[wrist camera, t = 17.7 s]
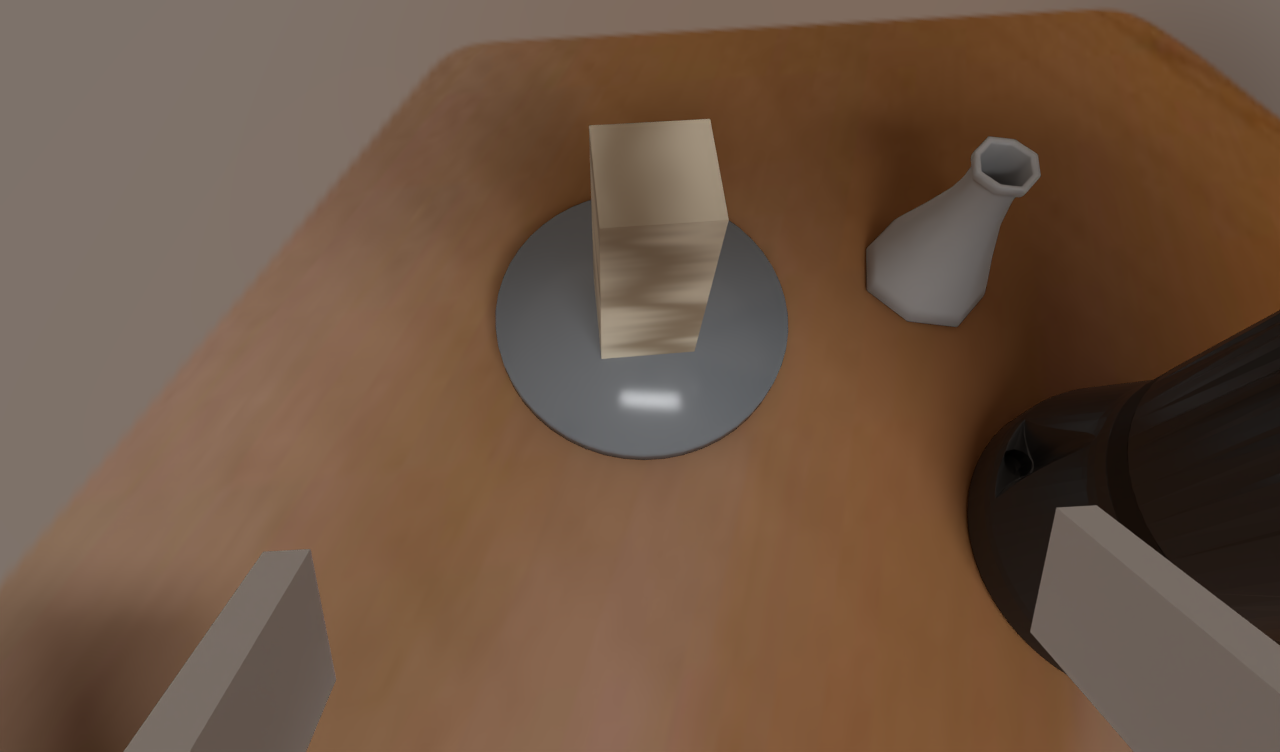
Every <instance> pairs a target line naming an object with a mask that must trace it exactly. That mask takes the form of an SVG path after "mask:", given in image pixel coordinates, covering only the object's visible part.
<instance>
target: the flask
mask: <svg viewBox="0 0 1280 752" xmlns="http://www.w3.org/2000/svg"><path fill="white" fill-rule="evenodd" d="M1040 176H1041V174H1040V167H1039V159H1038V154H1037V153H1035V152H1034V151H1032V150H1031V149H1029V148H1027V147H1026V146H1024V145H1023V144H1021V143H1020V142H1018V141H1017V140H1015V139H1008V138H1000V137H991V136H988V137H987V138H986V139H985V141H984V142H983V143H982V144H981V145H980V146H979V147H978V148H977V149H976V150H975V151H974V152H973V153H972V155H971V167H970V169H969V170H968V171H967V173H966V174H965V176H964V177H963V178H962V179H961V180H959V181H958V182H957V183H956V184H955V185H954V186H953V187H951V188H950V189H948V190H946V191H945V192H943V193H941V194H940V195H938V196H936V197H935V198H933V199H931V200H930V201H928V202H926V203H925V204H923V205H921V206H919V207H917V208H915V209H913V210H911V211H909V212H908V213H906V214H904V215H902V216H900V217H898V218H897V219H895V220H894V221H893V222H892V223H891V224H890V225H889V226H888V227H887V228H886V229H885V230H884V231H883V232H882V233H881V234H880V235H879V236H878V237H877V238H876V239H875V240H874V241H873V242H872V243H871V244H870V245H869V246H868V247H867V249H866V268H867V291H868V292H869V293H871V294H872V295H873V296H875V297H876V298H877V299H879V300H880V301H881V302H883V303H884V304H885V305H887V306H888V307H889V308H891V309H892V310H893V311H894V312H896V313H897V314H898V315H900V316H901V317H902V318H904V319H905V320H906V321H910V322H918V323H927V324H935V325H944V326H953V327H958V325H959V324H960V323H961V322H962V321H963V320H964V318H965V317H966V316H967V315H968V314H969V313H970V311H971V310H972V309H973V308H974V307H975V306H976V304H977V303H978V302H979V301H980V300H981V299H982V297H983V296H984V294H985V290H986V286H987V281H988V276H989V271H990V266H991V260H992V256H993V252H994V248H995V244H996V240H997V237H998V233H999V229H1000V225H1001V223H1002V221H1003V219H1004V217H1005V215H1006V213H1007V211H1008V209H1009V207H1010V205H1011V203H1012V201H1013V200H1014V198H1015V197H1022V196H1023V195H1025V194H1026V193H1027V191H1028V190H1029V189H1030V188H1031V187H1032V186H1033V185H1034V183H1035V182H1036V181H1037V180H1038V179H1039V178H1040Z"/></svg>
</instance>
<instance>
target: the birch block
mask: <svg viewBox="0 0 1280 752" xmlns="http://www.w3.org/2000/svg"><path fill="white" fill-rule="evenodd" d="M589 141H590V174H591V206H592V239H593V272H594V286H595V297H596V307H597V318H598V328H599V338H600V349H601V359H607V358H620V357H632V356H645V355H657V354H669V353H682V352H694V351H695V347H696V343H697V340H698V336H699V332H700V328H701V324H702V320H703V317H704V313H705V309H706V305H707V301H708V297H709V294H710V290H711V286H712V282H713V278H714V274H715V271H716V267H717V263H718V259H719V255H720V252H721V248H722V244H723V240H724V236H725V232H726V229H727V225H728V221H729V219H728V213H727V208H726V202H725V197H724V192H723V186H722V181H721V175H720V170H719V165H718V159H717V154H716V148H715V143H714V137H713V132H712V127H711V121H710V119H700V120H681V121H663V122H645V123H626V124H608V125H590V126H589Z"/></svg>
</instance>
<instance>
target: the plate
mask: <svg viewBox="0 0 1280 752" xmlns="http://www.w3.org/2000/svg"><path fill="white" fill-rule="evenodd" d="M496 333H497V340H498V346H499V350H500V353H501V356H502V359H503V363H504V366H505V369H506V372H507V374H508V376H509V378H510V381H511V383H512V385H513V387H514V389H515V390H516V392H517V393H518V395H519V396H520V398H521V399H522V401H523V402H524V404H525V405H526V406H527V407H528V408H529V409H530V410H531V412H532V413H533V414H534V415H535V416H536V417H537V418H538V419H539V420H540V421H542V422H543V423H544V424H545V425H546V426H547V427H549V428H550V429H551V430H552V431H554V432H555V433H557V434H559V435H560V436H562V437H563V438H565V439H566V440H568V441H570V442H572V443H574V444H576V445H578V446H581V447H583V448H585V449H588V450H591V451H594V452H597V453H600V454H603V455H607V456H612V457H618V458H623V459H636V460H652V459H665V458H670V457H676V456H681V455H685V454H688V453H691V452H694V451H697V450H700V449H703V448H705V447H707V446H709V445H711V444H713V443H715V442H717V441H719V440H721V439H722V438H724V437H725V436H727V435H728V434H730V433H731V432H733V431H734V430H736V429H737V428H738V427H739V426H740V425H741V424H742V423H744V422H745V421H746V420H747V419H748V418H749V417H750V416H751V415H752V414H753V412H754V411H755V410H756V409H757V408H758V406H759V405H760V404H761V402H762V401H763V399H764V398H765V396H766V395H767V393H768V391H769V390H770V388H771V386H772V384H773V383H774V381H775V378H776V376H777V374H778V372H779V369H780V367H781V365H782V361H783V357H784V354H785V350H786V344H787V336H788V314H787V308H786V302H785V297H784V294H783V291H782V288H781V285H780V282H779V280H778V278H777V276H776V273H775V271H774V269H773V267H772V265H771V264H770V262H769V261H768V259H767V258H766V256H765V255H764V253H763V252H762V251H761V250H760V248H759V247H758V246H757V245H756V244H755V243H754V241H753V240H752V239H751V238H750V237H749V236H748V235H746V234H745V233H744V232H743V231H742V230H741V229H740V228H739V227H737V226H736V225H735V224H733V223H732V222H730V221H728V225H727V229H726V232H725V236H724V240H723V244H722V248H721V252H720V255H719V259H718V263H717V267H716V271H715V274H714V278H713V282H712V286H711V290H710V294H709V297H708V301H707V305H706V309H705V313H704V317H703V320H702V324H701V328H700V332H699V336H698V340H697V343H696V347H695V351H694V352H682V353H669V354H657V355H645V356H632V357H620V358H607V359H601V349H600V338H599V328H598V318H597V307H596V297H595V286H594V272H593V239H592V206H591V200H589V201H586V202H584V203H581V204H579V205H576V206H573V207H571V208H569V209H568V210H566V211H564V212H562V213H560V214H558V215H556V216H555V217H554V218H552V219H551V220H549V221H548V222H546V223H545V224H543V225H542V226H541V227H540V228H539V229H538V230H537V231H536V232H535V233H533V234H532V235H531V236H530V237H529V238H528V240H527V241H526V242H525V243H524V244H523V245H522V247H521V248H520V249H519V250H518V252H517V254H516V255H515V257H514V258H513V260H512V261H511V263H510V265H509V267H508V269H507V271H506V273H505V275H504V278H503V281H502V284H501V287H500V290H499V294H498V300H497V306H496Z"/></svg>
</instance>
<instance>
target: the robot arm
mask: <svg viewBox="0 0 1280 752" xmlns="http://www.w3.org/2000/svg"><path fill="white" fill-rule="evenodd" d="M968 526H969V535H970V540H971V545H972V549H973V553H974V557H975V560H976V563H977V566H978V569H979V571H980V574H981V576H982V579H983V581H984V583H985V585H986V587H987V589H988V591H989V593H990V595H991V597H992V598H993V600H994V602H995V603H996V605H997V606H998V608H999V610H1000V611H1001V613H1002V614H1003V615H1004V617H1005V618H1006V619H1007V621H1008V622H1009V624H1010V625H1011V626H1012V627H1013V628H1014V629H1015V631H1016V632H1017V633H1018V634H1019V635H1020V636H1021V637H1022V638H1023V639H1024V641H1025V642H1026V643H1027V644H1028V645H1029V646H1031V647H1032V648H1033V649H1034V650H1035V651H1036V652H1037V653H1038V654H1039V655H1041V656H1042V657H1043V658H1044V659H1045V660H1047V661H1048V662H1049V663H1051V664H1052V665H1053V666H1055V667H1056V668H1058V669H1059V670H1061V671H1062V672H1064V673H1065V674H1067V675H1068V676H1069V677H1070V679H1071V680H1072V681H1073V682H1074V683H1075V684H1076V685H1077V687H1078V688H1079V689H1080V690H1081V691H1082V692H1083V694H1084V695H1085V696H1086V697H1087V698H1088V699H1089V700H1090V702H1091V703H1092V704H1093V705H1094V706H1095V707H1096V709H1097V710H1098V711H1099V712H1100V713H1101V714H1102V715H1103V717H1104V718H1105V719H1106V720H1107V721H1108V722H1109V724H1110V725H1111V726H1112V727H1113V728H1114V729H1115V730H1116V732H1117V733H1118V734H1119V735H1120V736H1121V737H1122V739H1123V740H1124V741H1125V742H1126V743H1127V744H1128V745H1129V747H1130V748H1131V749H1132V750H1133V751H1134V752H1280V310H1279V311H1277V312H1275V313H1274V314H1272V315H1270V316H1268V317H1266V318H1264V319H1263V320H1261V321H1259V322H1257V323H1255V324H1253V325H1251V326H1250V327H1248V328H1246V329H1244V330H1242V331H1240V332H1239V333H1237V334H1235V335H1233V336H1231V337H1229V338H1228V339H1226V340H1224V341H1222V342H1220V343H1218V344H1217V345H1215V346H1213V347H1211V348H1209V349H1207V350H1206V351H1204V352H1202V353H1200V354H1198V355H1196V356H1195V357H1193V358H1191V359H1189V360H1187V361H1185V362H1184V363H1182V364H1180V365H1178V366H1176V367H1174V368H1173V369H1171V370H1169V371H1168V372H1166V373H1165V374H1163V375H1161V376H1159V377H1157V378H1156V379H1154V380H1149V381H1140V382H1132V383H1124V384H1115V385H1107V386H1099V387H1090V388H1083V389H1077V390H1073V391H1069V392H1065V393H1062V394H1059V395H1056V396H1054V397H1051V398H1049V399H1046V400H1044V401H1042V402H1040V403H1039V404H1037V405H1035V406H1034V407H1032V408H1030V409H1029V410H1027V411H1026V412H1024V413H1023V414H1021V415H1020V416H1018V417H1017V418H1015V419H1014V420H1012V421H1011V422H1009V423H1008V424H1007V425H1006V426H1004V427H1003V428H1002V429H1001V430H1000V431H999V432H998V433H997V434H996V435H995V436H994V437H993V439H992V440H991V441H990V442H989V444H988V445H987V446H986V448H985V450H984V451H983V453H982V455H981V457H980V459H979V461H978V463H977V465H976V468H975V471H974V474H973V477H972V481H971V485H970V490H969V498H968ZM335 681H336V677H335V672H334V667H333V661H332V656H331V651H330V646H329V641H328V636H327V631H326V626H325V621H324V616H323V611H322V606H321V600H320V595H319V590H318V585H317V580H316V575H315V570H314V565H313V560H312V555H311V550H310V549H305V550H287V551H269V552H263V553H262V554H261V556H260V557H259V559H258V560H257V561H256V563H255V564H254V566H253V567H252V569H251V570H250V571H249V573H248V574H247V576H246V577H245V579H244V580H243V581H242V583H241V584H240V586H239V587H238V589H237V590H236V591H235V593H234V594H233V596H232V597H231V599H230V600H229V601H228V603H227V604H226V606H225V607H224V609H223V610H222V612H221V613H220V614H219V616H218V617H217V619H216V620H215V622H214V623H213V624H212V626H211V627H210V629H209V630H208V632H207V633H206V634H205V636H204V637H203V639H202V640H201V642H200V643H199V644H198V646H197V647H196V649H195V650H194V652H193V653H192V654H191V656H190V657H189V659H188V660H187V662H186V663H185V664H184V666H183V667H182V669H181V670H180V672H179V673H178V674H177V676H176V677H175V679H174V680H173V682H172V683H171V684H170V686H169V687H168V689H167V690H166V692H165V693H164V694H163V696H162V697H161V699H160V700H159V702H158V703H157V704H156V706H155V707H154V709H153V710H152V712H151V713H150V714H149V716H148V717H147V719H146V720H145V722H144V723H143V724H142V726H141V727H140V729H139V730H138V732H137V733H136V734H135V736H134V737H133V739H132V740H131V742H130V743H129V744H128V746H127V747H126V749H125V750H124V752H306V750H307V748H308V746H309V743H310V741H311V738H312V736H313V734H314V731H315V729H316V726H317V724H318V722H319V719H320V717H321V714H322V712H323V710H324V707H325V705H326V702H327V700H328V698H329V695H330V693H331V690H332V688H333V686H334V683H335Z"/></svg>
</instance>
